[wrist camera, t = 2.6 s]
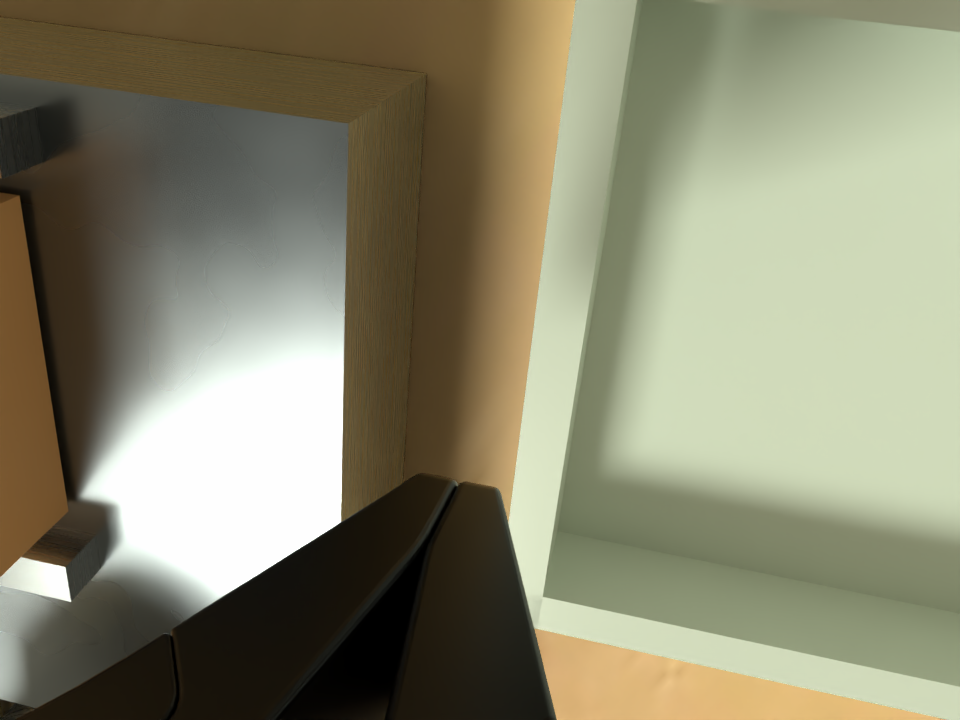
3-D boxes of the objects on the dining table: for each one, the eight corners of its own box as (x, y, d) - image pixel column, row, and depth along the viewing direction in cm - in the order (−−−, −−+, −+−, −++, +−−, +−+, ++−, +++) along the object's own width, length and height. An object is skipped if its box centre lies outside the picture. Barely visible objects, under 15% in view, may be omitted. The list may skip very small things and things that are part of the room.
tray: (1607, 21, 9) (1824, 51, 7) (1193, 673, 13) (1269, 790, 11) (604, -83, 10) (586, -80, 9) (520, 533, 15) (496, 619, 13)
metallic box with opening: (426, 73, 12) (323, 139, 8) (378, 894, 20) (316, 1086, 17) (-240, -15, 13) (-545, 12, 10) (-29, 783, 21) (-159, 940, 18)
